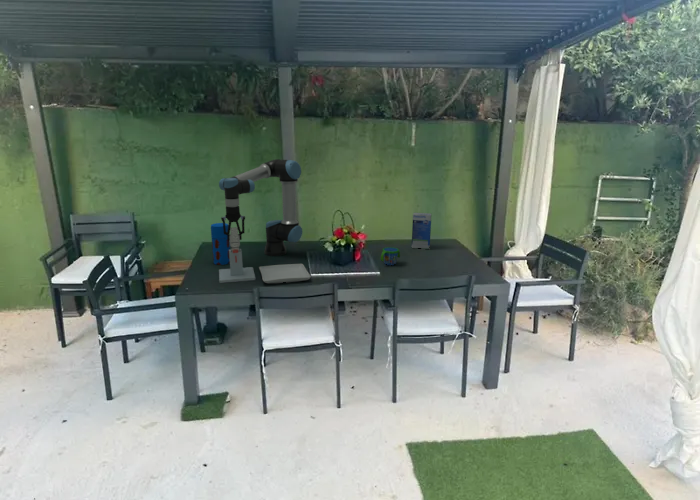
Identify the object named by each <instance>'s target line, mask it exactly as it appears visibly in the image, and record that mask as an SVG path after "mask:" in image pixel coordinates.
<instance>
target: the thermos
mask: <svg viewBox="0 0 700 500" xmlns="http://www.w3.org/2000/svg"><path fill="white" fill-rule="evenodd" d="M228 225H229V223H226V222H225V228H226V232H227V231H228ZM210 233H211V234H210V235H211V237H210V238H211V247H212V259H213V264H214V265H216V266H217V265H218V266H225V265H227V264H228V265H230V258H229V250H230V249H231V246H230V241H228V239H227V235H225V234H224V230H223V222H216V223H213V224H211V225H210Z"/></svg>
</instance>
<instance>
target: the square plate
mask: <svg viewBox="0 0 700 500" xmlns="http://www.w3.org/2000/svg"><path fill="white" fill-rule="evenodd" d="M258 269H259V272H260V275H261V278H262V282H264V283H265V284H282V283H283V282H286V283H297V282H302V281H308V280H310V279H311V274H310V272H308V269H307V268H306V267H305V265H304V264H303V263H292V264H291V263H289V264H275V265H274V264H273V265H264V266H262V265H261V266H258Z"/></svg>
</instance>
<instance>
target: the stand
mask: <svg viewBox="0 0 700 500" xmlns="http://www.w3.org/2000/svg"><path fill="white" fill-rule="evenodd" d="M229 258H230V263H229V268H221V269H218V278H219V279H218V281H219V284H223V283H235V282H236V283H237V282H247V281H256V275H255V272H254V267H253V266H249V267H248V266H247V267H243V266H244V263H243V251H242V248H239V252H238V250H237V251H233V252H232V248H230V250H229Z"/></svg>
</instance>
